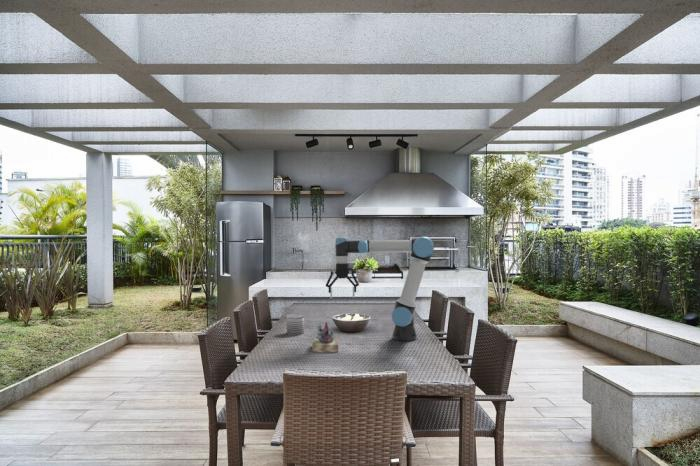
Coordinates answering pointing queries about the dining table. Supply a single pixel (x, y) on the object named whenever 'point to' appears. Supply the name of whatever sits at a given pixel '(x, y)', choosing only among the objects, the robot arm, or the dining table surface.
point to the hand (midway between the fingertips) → (342, 298)
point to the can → (295, 324)
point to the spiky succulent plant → (324, 334)
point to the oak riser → (325, 346)
